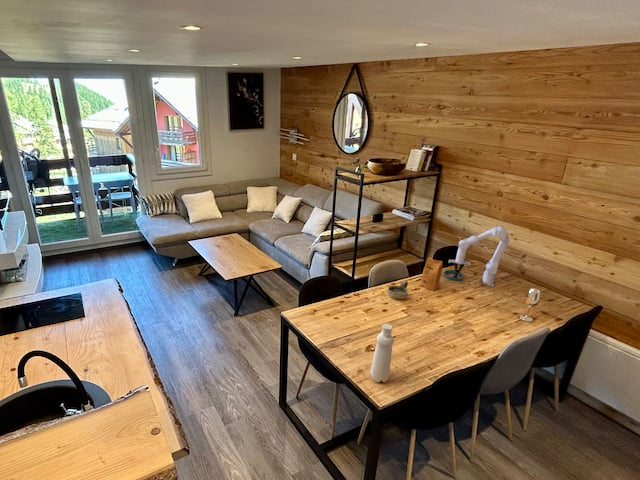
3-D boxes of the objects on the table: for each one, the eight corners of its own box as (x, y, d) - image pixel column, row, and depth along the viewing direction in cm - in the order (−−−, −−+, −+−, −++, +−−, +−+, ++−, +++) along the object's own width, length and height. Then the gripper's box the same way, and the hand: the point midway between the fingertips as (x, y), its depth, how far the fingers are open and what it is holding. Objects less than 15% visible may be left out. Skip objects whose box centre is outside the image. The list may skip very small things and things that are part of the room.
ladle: (453, 276, 298) (456, 268, 295) (459, 278, 295) (462, 270, 293) (451, 277, 295) (454, 269, 292) (456, 279, 292) (459, 271, 290)
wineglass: (532, 317, 248) (541, 289, 240) (533, 323, 242) (543, 294, 234) (518, 314, 251) (526, 286, 243) (519, 319, 244) (528, 291, 237)
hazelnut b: (447, 275, 300) (448, 273, 299) (450, 275, 300) (450, 273, 299) (447, 276, 298) (448, 274, 298) (450, 276, 298) (450, 274, 297)
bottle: (385, 371, 196) (394, 321, 184) (390, 384, 188) (400, 332, 176) (367, 371, 196) (375, 321, 184) (372, 384, 187) (380, 332, 175)
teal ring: (442, 273, 304) (443, 268, 303) (461, 276, 301) (462, 271, 299) (443, 281, 292) (444, 276, 290) (464, 284, 288) (465, 279, 286)
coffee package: (425, 281, 290) (430, 254, 282) (440, 287, 282) (446, 260, 273) (417, 285, 285) (422, 257, 276) (432, 291, 276) (438, 263, 267)
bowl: (382, 296, 268) (384, 283, 264) (396, 288, 278) (398, 276, 275) (400, 304, 258) (402, 291, 254) (414, 296, 269) (416, 283, 265)
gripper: (450, 256, 287) (447, 273, 292) (472, 259, 283) (468, 276, 288) (449, 253, 293) (446, 269, 298) (470, 255, 289) (466, 272, 294)
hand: (457, 272), depth 294 cm, fingers closed on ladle
